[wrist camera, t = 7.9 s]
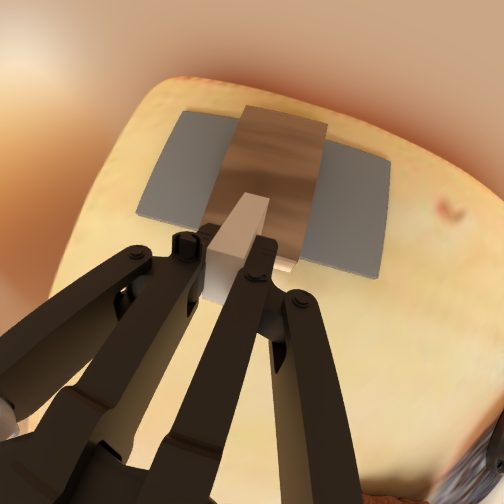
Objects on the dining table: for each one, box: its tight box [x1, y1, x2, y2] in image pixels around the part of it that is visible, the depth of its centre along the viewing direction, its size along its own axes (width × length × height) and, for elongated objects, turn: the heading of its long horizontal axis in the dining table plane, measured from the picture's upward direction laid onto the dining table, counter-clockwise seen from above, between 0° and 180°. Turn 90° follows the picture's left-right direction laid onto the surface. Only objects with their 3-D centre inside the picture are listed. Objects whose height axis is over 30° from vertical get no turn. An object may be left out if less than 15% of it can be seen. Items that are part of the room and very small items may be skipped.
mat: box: [135, 111, 391, 279], centre depth 24 cm, size 12×22×1 cm, turn 74°
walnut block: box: [198, 105, 328, 272], centre depth 21 cm, size 4×7×12 cm
